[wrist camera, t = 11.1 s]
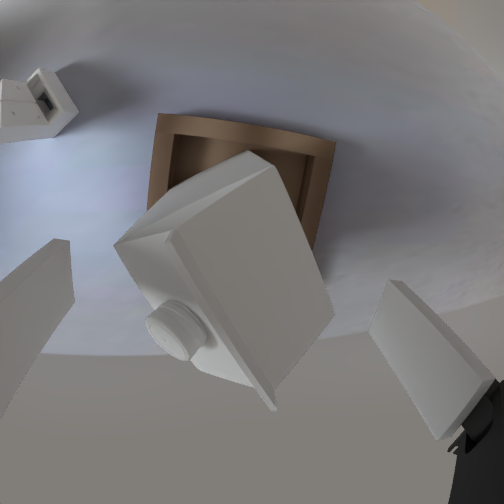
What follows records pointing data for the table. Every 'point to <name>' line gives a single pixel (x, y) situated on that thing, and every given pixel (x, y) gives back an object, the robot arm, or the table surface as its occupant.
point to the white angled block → (34, 107)
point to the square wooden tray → (233, 143)
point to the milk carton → (229, 274)
